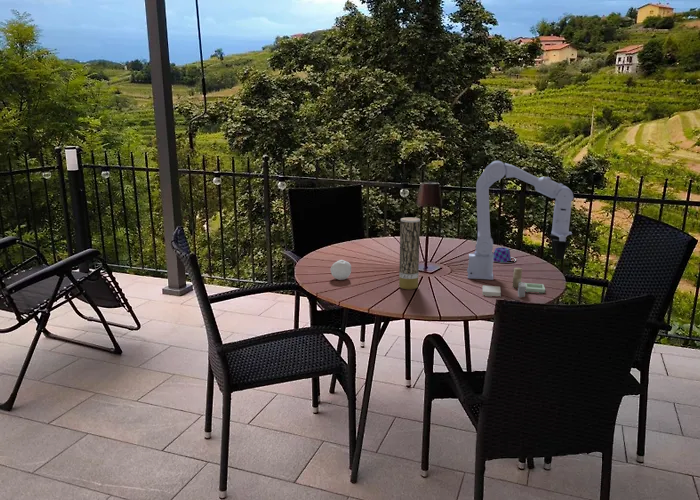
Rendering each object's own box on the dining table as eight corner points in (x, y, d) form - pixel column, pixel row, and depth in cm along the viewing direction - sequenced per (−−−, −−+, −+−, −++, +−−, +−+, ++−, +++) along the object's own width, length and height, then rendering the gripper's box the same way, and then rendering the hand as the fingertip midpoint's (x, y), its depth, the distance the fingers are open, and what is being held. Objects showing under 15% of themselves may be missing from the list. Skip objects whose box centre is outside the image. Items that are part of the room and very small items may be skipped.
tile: (482, 297, 190) (482, 291, 190) (482, 290, 197) (482, 285, 196) (500, 298, 189) (500, 292, 188) (499, 292, 195) (500, 286, 195)
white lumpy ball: (347, 275, 213) (347, 256, 212) (354, 281, 206) (354, 261, 205) (328, 277, 211) (327, 258, 209) (334, 283, 204) (334, 263, 202)
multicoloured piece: (519, 264, 231) (520, 252, 230) (490, 264, 231) (491, 252, 230) (511, 257, 243) (512, 245, 241) (484, 257, 243) (485, 245, 242)
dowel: (512, 288, 198) (514, 269, 196) (512, 286, 201) (513, 267, 199) (520, 288, 197) (522, 270, 196) (520, 286, 200) (521, 267, 198)
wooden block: (518, 297, 188) (519, 286, 187) (517, 292, 193) (518, 281, 192) (524, 297, 188) (525, 286, 187) (523, 293, 192) (524, 282, 192)
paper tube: (405, 283, 204) (407, 216, 198) (421, 287, 199) (423, 218, 194) (395, 287, 199) (396, 219, 193) (411, 291, 194) (413, 221, 188)
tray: (525, 292, 194) (526, 288, 193) (524, 286, 200) (524, 282, 199) (544, 293, 192) (545, 289, 192) (543, 288, 198) (543, 284, 198)
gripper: (576, 224, 192) (572, 261, 195) (569, 216, 206) (566, 252, 209) (555, 223, 194) (551, 260, 197) (550, 216, 207) (546, 251, 211)
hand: (557, 256), depth 203 cm, fingers open, 7 cm apart
